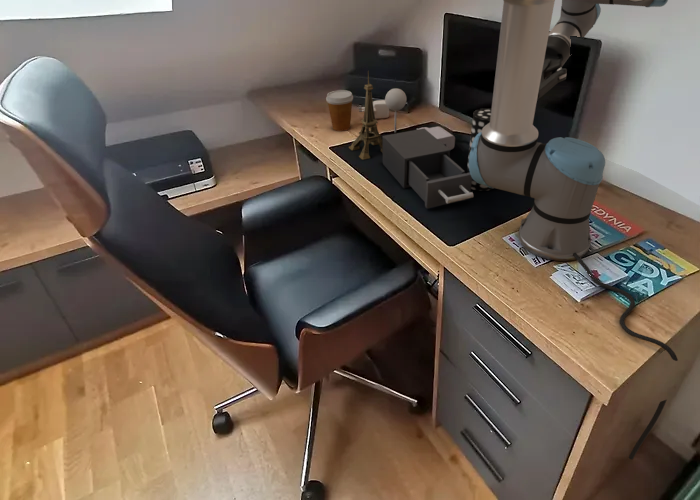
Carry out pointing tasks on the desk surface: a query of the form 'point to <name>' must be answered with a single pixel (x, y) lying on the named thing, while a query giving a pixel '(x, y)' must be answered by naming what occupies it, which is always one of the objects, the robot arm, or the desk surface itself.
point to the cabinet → (409, 151)
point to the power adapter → (379, 109)
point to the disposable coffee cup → (340, 108)
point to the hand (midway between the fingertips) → (504, 115)
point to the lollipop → (395, 101)
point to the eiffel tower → (368, 122)
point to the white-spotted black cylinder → (479, 121)
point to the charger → (442, 136)
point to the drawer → (438, 180)
